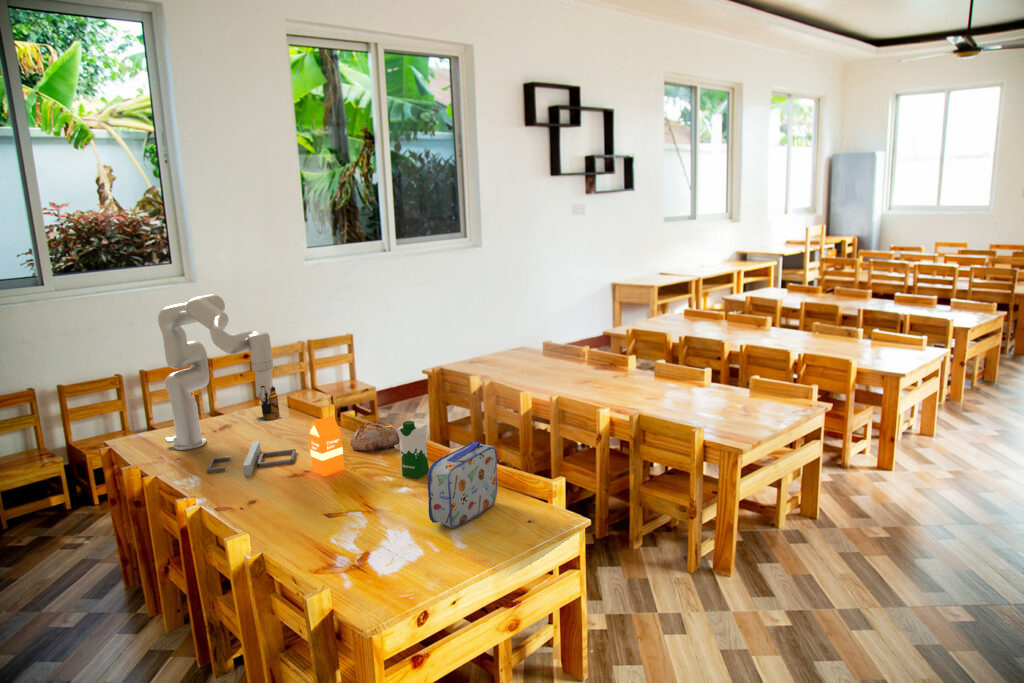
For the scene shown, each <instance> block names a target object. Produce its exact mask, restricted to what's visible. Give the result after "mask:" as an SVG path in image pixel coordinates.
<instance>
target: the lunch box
mask: <svg viewBox="0 0 1024 683" xmlns="http://www.w3.org/2000/svg"><path fill="white" fill-rule="evenodd" d="M497 466H498V454H497V449H496V448H495V446H493V445H487V444H483V443H481V442H480V441H473V442H470V443H467V444H466V445H464V446H463V447H461V448H459V449H457V450H455V451H451V452H450V453H448V454H446V455H443V456H442V457H440V458H439V459H437V460H435V461H434V462H433V463H432V464H431V466H429V471H428V473H427V494H428V495H427V496H428V498H427V499H428V517H429V520H430V521H431V522H432V523H433V524H437V523H439V524H440V525H441V524H442V525H444V526H446V527H448V528H451V529H455V528H457V527H459V526H461V525H463V524H465V523H467V522H468V521H470V520H472V519H474V518H477V517H479V516H480V515H481V514H482V513H483V512H485V511H486V510H488V509H489V508H491V507H492V506H493V505H494V504H495V502H496V499H497V494H498V475H497V474H498V472H497V469H498V467H497Z"/></svg>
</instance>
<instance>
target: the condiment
mask: <svg viewBox="0 0 1024 683" xmlns="http://www.w3.org/2000/svg"><path fill="white" fill-rule="evenodd" d="M275 387H276V386H274V385H273V386H272V389H271V395H270V396H269V403H270V404H271V412H272V413H271V414H265V415H263V414H262V416H260V417H259V416H258V417H255V420H256V421H257V422H258V423H260V424H262V423H267V422H273V421H277V420H282V419H283V417H282V416H281V415H280V406H279V399H278V393H277V391H276V388H275ZM265 396H268V395H267V394H265Z"/></svg>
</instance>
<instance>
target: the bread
mask: <svg viewBox="0 0 1024 683" xmlns="http://www.w3.org/2000/svg"><path fill="white" fill-rule="evenodd" d="M385 426H389V424H385V423H382V422H373V421H372V422H371V421H368V422H366V423H365V424H363V425H362V426H359V427H358V428H357V429H356V431H355V433H354V434H352V437H351V438H350V441H349V444H350V446H351V448H352V449H354V450H355V451H362V452H368V453H369V452H370V453H377V452H381V451H385V450H387V449H390V448H393V447H395V446H397V445H400V439H399V435H398V431H396V430H395V429H394V428H393V427H392V426H390V427H385Z"/></svg>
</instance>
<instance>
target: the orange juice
mask: <svg viewBox="0 0 1024 683" xmlns="http://www.w3.org/2000/svg"><path fill="white" fill-rule="evenodd" d="M341 432H342V431H341V429H340V427H339V426H338V423H337V420H336V418H335V416H334V415H329V416H326V417H323V418H319V419H316V420H313V421H312V423H311V426H310V429H309V432H308V439H309V448H310V449H309V450H310V451H309V453H310V459H311V466H312V467H311V468H312V472H314V473H315V474H317V475H320V476H322V477H327V476H329V475H331V474H335V473H338V472H340V471H343V470H344V469H345V459H344V450H343V442H342V441H343V440H342V433H341Z"/></svg>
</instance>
